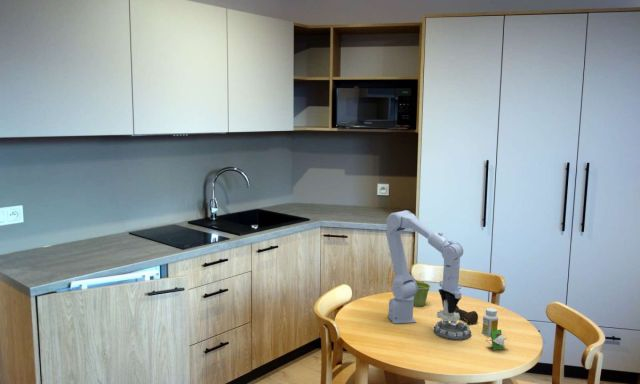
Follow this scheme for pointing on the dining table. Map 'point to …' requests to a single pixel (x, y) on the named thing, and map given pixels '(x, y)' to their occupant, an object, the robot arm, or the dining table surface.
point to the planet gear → (447, 313)
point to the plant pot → (421, 294)
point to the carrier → (452, 330)
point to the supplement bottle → (490, 321)
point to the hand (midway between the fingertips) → (448, 310)
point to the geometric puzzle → (497, 339)
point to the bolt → (467, 315)
